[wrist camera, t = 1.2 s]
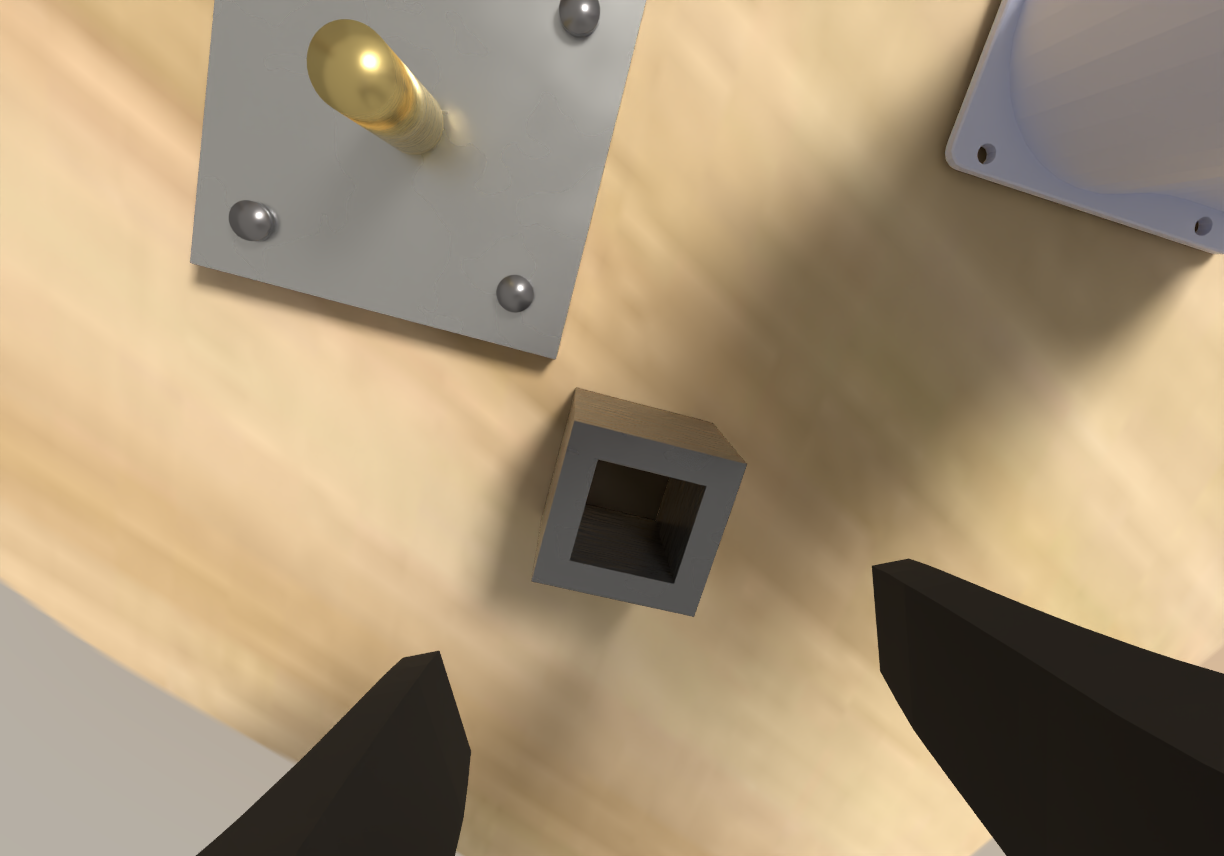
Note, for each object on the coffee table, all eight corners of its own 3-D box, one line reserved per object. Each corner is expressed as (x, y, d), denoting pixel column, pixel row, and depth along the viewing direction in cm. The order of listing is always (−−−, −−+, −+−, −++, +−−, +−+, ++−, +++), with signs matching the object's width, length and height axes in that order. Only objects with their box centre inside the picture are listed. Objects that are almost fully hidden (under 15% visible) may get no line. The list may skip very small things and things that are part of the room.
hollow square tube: (712, 423, 18) (747, 464, 15) (671, 547, 20) (693, 616, 16) (576, 387, 18) (574, 420, 14) (541, 517, 19) (531, 581, 15)
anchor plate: (650, -18, 15) (682, -150, 10) (556, 355, 18) (547, 388, 13) (250, -157, 14) (79, -376, 9) (208, 263, 17) (54, 261, 12)
